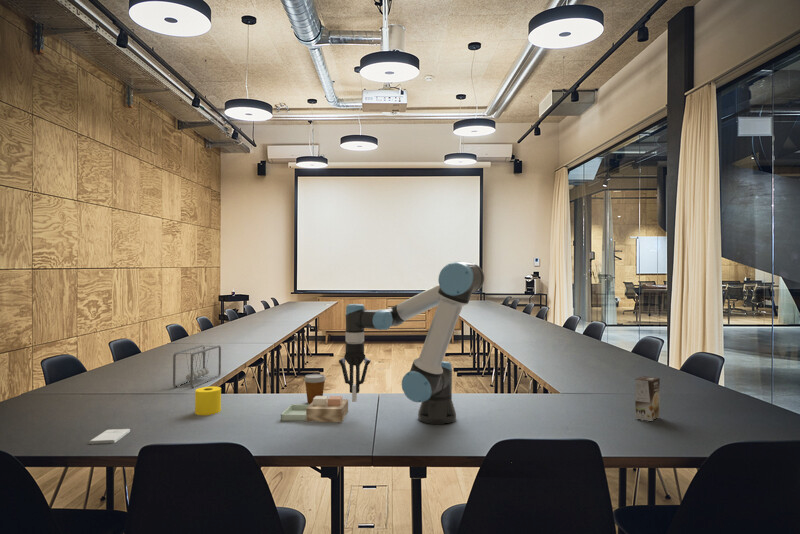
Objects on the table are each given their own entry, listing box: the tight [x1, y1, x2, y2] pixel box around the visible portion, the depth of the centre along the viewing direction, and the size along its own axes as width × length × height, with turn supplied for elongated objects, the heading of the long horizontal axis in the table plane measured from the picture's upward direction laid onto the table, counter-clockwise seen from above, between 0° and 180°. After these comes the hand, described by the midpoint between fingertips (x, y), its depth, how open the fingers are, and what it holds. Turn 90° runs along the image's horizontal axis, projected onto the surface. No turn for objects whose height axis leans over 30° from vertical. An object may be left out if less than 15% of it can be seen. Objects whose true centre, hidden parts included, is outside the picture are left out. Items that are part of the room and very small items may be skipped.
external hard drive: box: [88, 428, 131, 445], centre depth 174 cm, size 2×8×12 cm
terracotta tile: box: [328, 395, 344, 406], centre depth 200 cm, size 5×5×2 cm
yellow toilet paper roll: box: [194, 386, 222, 416], centre depth 206 cm, size 10×10×9 cm
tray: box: [280, 403, 310, 422], centre depth 201 cm, size 10×15×2 cm, turn 177°
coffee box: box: [634, 375, 661, 422], centre depth 198 cm, size 9×6×16 cm
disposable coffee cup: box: [303, 373, 327, 405], centre depth 220 cm, size 10×10×12 cm
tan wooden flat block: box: [305, 398, 349, 423], centre depth 200 cm, size 14×15×5 cm
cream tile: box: [313, 395, 329, 405], centre depth 200 cm, size 5×5×2 cm
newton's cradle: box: [172, 344, 222, 389], centre depth 262 cm, size 30×10×18 cm, turn 173°
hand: (354, 400), depth 199 cm, fingers closed
